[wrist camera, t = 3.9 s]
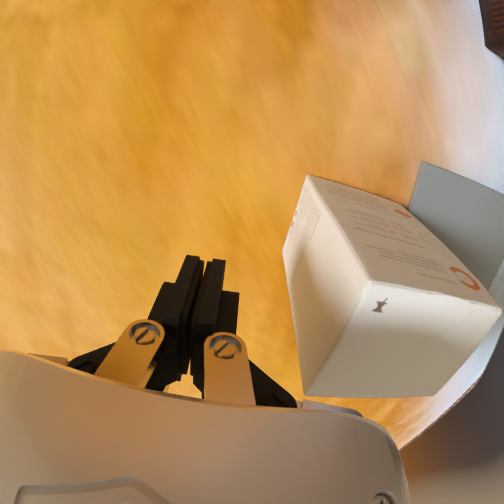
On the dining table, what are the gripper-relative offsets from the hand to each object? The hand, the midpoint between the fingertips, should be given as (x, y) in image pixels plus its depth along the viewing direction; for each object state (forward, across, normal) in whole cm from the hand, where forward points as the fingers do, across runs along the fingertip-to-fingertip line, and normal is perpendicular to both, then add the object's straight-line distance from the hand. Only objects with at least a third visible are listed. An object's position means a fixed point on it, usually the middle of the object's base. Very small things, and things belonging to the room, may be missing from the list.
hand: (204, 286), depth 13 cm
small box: (+10, -9, 0) cm, 13 cm away
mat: (+10, -21, +1) cm, 23 cm away
